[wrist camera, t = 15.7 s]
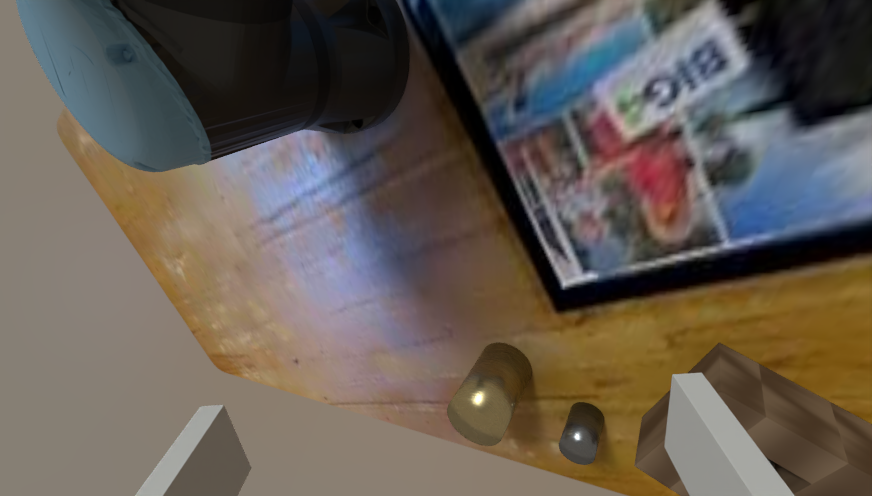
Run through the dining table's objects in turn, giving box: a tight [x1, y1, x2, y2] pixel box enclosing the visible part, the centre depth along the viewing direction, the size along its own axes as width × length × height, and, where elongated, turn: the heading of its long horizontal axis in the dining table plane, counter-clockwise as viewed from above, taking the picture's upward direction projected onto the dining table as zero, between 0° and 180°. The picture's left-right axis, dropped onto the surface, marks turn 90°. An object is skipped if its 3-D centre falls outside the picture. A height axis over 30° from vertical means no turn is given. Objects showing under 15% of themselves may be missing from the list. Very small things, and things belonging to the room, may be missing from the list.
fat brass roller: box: [447, 343, 532, 446], centre depth 46 cm, size 6×6×9 cm
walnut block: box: [634, 343, 872, 496], centre depth 36 cm, size 12×12×6 cm
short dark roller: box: [559, 402, 604, 465], centre depth 45 cm, size 4×4×5 cm
